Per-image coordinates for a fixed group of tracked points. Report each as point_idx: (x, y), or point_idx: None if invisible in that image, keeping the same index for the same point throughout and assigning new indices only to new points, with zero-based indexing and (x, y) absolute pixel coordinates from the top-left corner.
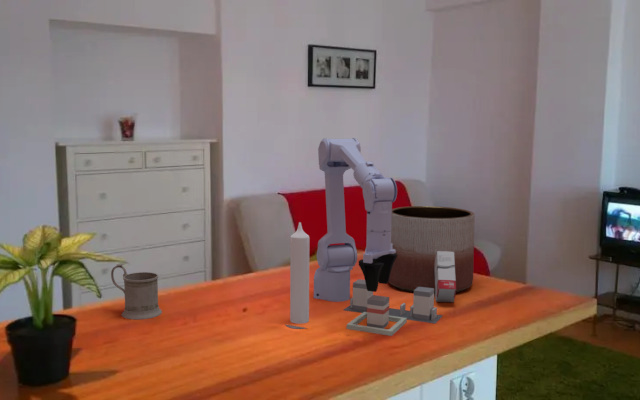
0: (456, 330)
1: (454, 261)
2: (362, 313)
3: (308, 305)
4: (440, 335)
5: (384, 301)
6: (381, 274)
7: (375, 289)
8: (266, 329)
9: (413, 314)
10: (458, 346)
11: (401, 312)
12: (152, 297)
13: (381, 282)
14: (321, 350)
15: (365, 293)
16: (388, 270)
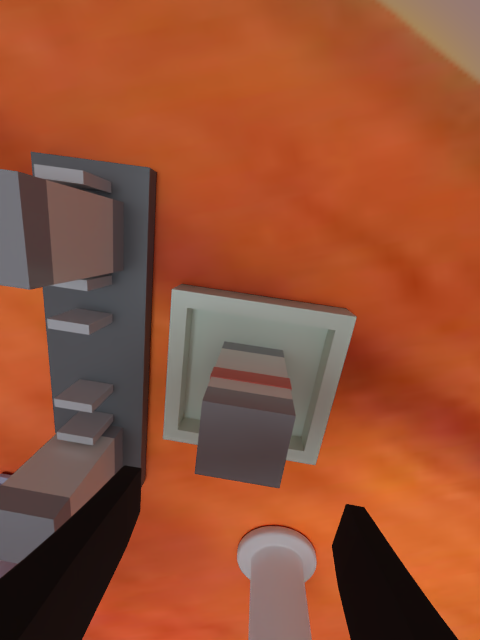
0: (155, 68)
1: None
2: (182, 440)
3: (280, 609)
4: (242, 132)
5: (279, 410)
6: (102, 571)
7: (374, 526)
8: (334, 603)
9: (115, 270)
10: (363, 19)
11: (105, 320)
12: None
13: (137, 504)
14: (476, 476)
15: (83, 486)
16: (66, 582)
